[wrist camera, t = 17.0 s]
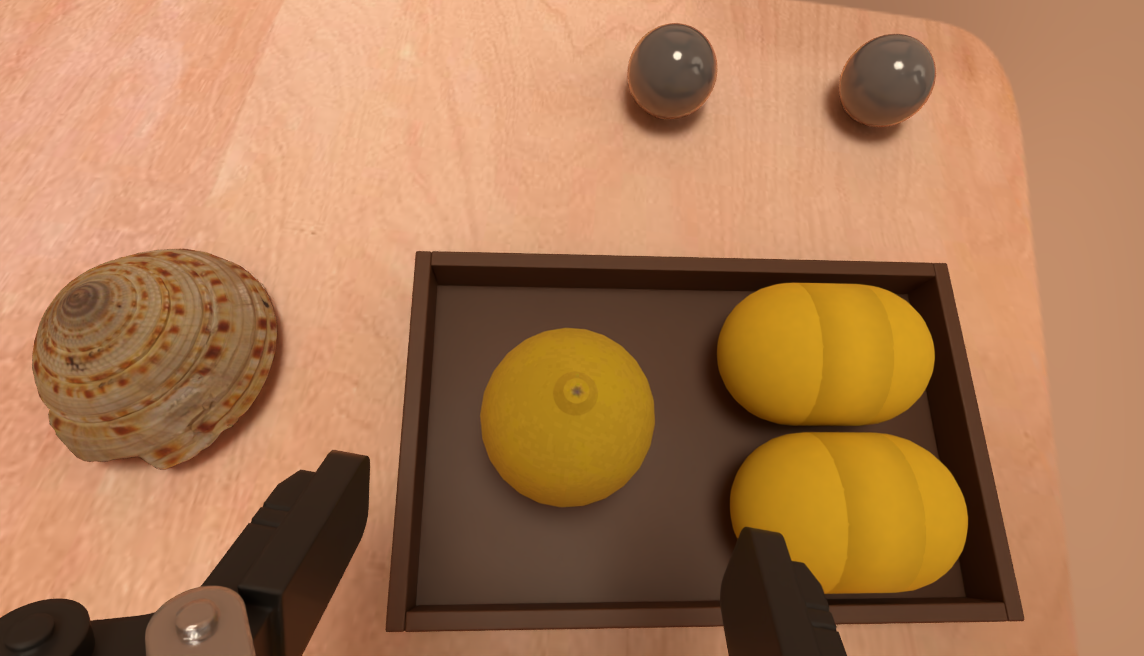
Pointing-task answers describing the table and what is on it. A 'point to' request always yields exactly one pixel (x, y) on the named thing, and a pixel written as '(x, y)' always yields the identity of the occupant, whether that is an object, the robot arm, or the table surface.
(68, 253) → the table surface
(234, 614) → the robot arm
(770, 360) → the yellow ribbed oblong body
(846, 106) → the glossy gray ball
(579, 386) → the lemon
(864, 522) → the yellow banded capsule
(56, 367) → the seashell
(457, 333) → the tray
